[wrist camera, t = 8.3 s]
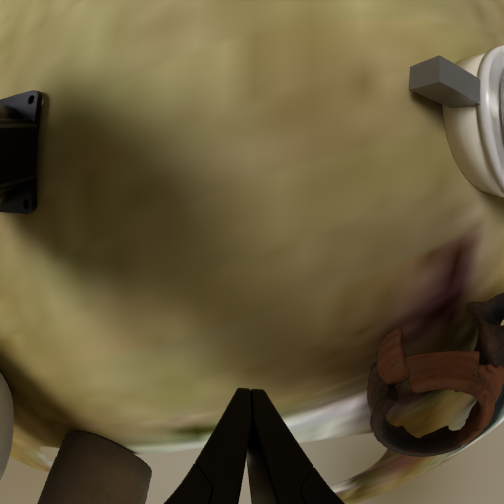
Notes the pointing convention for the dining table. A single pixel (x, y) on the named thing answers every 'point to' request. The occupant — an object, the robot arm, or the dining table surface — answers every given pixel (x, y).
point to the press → (469, 112)
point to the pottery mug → (440, 383)
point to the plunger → (502, 96)
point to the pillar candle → (95, 473)
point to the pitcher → (5, 424)
